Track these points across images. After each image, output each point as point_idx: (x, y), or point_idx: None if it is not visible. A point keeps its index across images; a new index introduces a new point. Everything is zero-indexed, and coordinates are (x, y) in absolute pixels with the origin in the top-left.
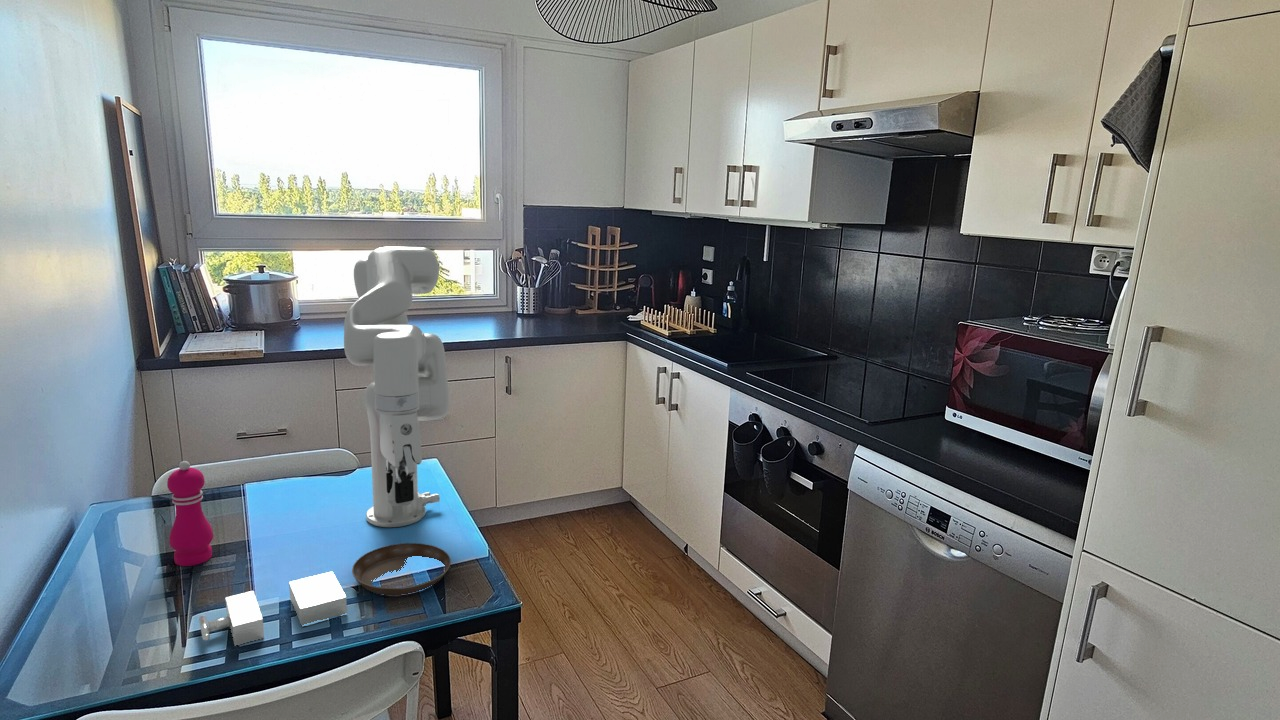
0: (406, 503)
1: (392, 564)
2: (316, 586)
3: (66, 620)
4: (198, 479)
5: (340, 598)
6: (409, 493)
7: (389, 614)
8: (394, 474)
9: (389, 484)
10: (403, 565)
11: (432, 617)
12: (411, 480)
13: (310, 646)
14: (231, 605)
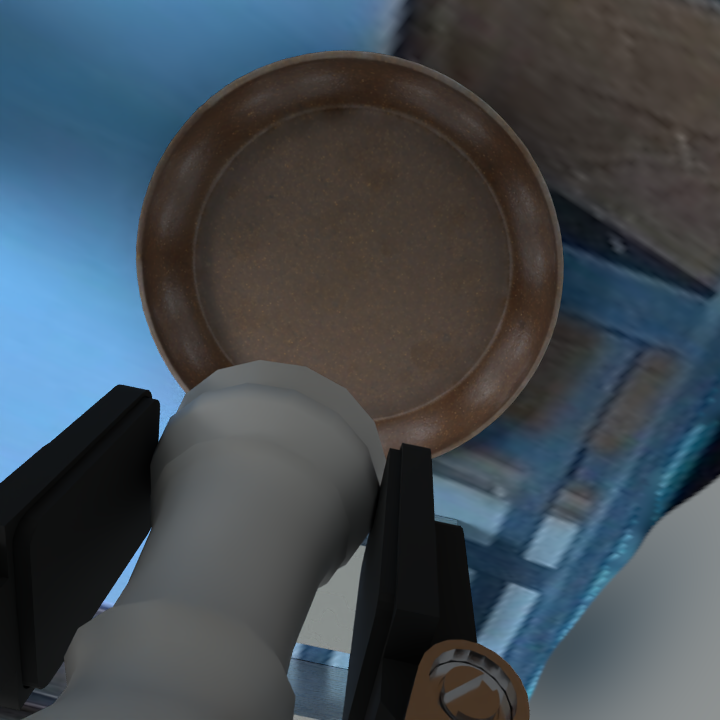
0: (382, 466)
1: (241, 265)
2: (327, 594)
3: None
4: None
5: None
6: (462, 559)
7: (553, 434)
8: None
9: (111, 584)
10: (275, 234)
11: (694, 343)
12: (505, 693)
13: (527, 635)
14: None
